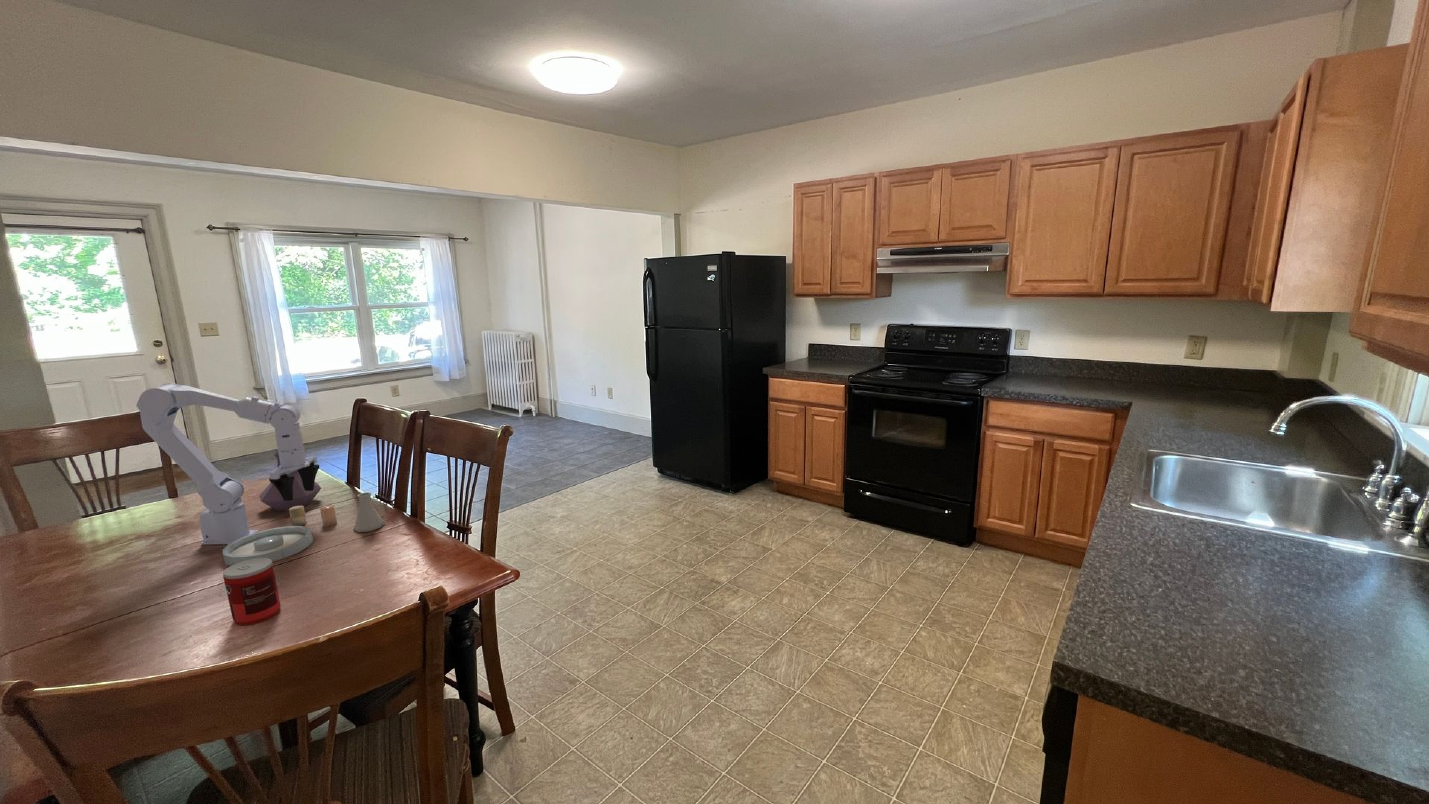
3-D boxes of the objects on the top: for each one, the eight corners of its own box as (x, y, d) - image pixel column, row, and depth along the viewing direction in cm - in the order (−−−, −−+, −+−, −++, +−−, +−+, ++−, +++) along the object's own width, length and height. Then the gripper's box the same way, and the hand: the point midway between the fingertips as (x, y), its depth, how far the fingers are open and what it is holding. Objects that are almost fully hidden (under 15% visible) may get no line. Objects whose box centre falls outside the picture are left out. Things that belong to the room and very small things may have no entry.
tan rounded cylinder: (289, 526, 159) (285, 510, 158) (298, 521, 162) (295, 505, 161) (300, 526, 159) (297, 510, 158) (309, 521, 162) (306, 505, 161)
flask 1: (336, 499, 180) (325, 439, 176) (279, 518, 165) (266, 454, 161) (305, 492, 186) (294, 434, 182) (248, 510, 172) (235, 448, 168)
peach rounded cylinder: (320, 526, 159) (317, 509, 158) (328, 521, 162) (325, 505, 161) (331, 526, 159) (328, 509, 158) (339, 521, 162) (337, 505, 161)
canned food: (250, 606, 118) (240, 558, 116) (290, 603, 119) (281, 556, 117) (222, 627, 111) (211, 577, 109) (265, 624, 112) (254, 574, 109)
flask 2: (370, 533, 153) (364, 499, 151) (348, 532, 154) (342, 498, 152) (390, 523, 160) (385, 490, 158) (368, 521, 161) (363, 489, 159)
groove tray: (204, 566, 136) (202, 557, 136) (264, 534, 154) (262, 526, 153) (276, 566, 136) (274, 556, 135) (328, 534, 154) (326, 525, 153)
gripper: (284, 456, 147) (292, 504, 150) (323, 441, 161) (331, 486, 164) (258, 456, 147) (267, 505, 150) (300, 441, 162) (308, 486, 164)
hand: (299, 495), depth 157 cm, fingers open, 7 cm apart
